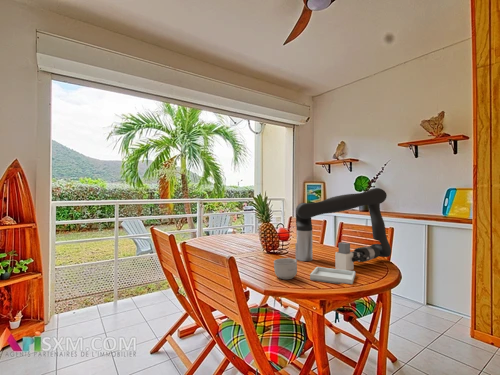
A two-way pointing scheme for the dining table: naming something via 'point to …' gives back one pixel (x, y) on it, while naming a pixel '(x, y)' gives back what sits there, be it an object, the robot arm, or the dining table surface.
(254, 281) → the dining table surface
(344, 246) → the block
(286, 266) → the teacup
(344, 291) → the dining table surface
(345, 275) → the tray
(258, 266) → the dining table surface
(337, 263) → the beige rectangular block
